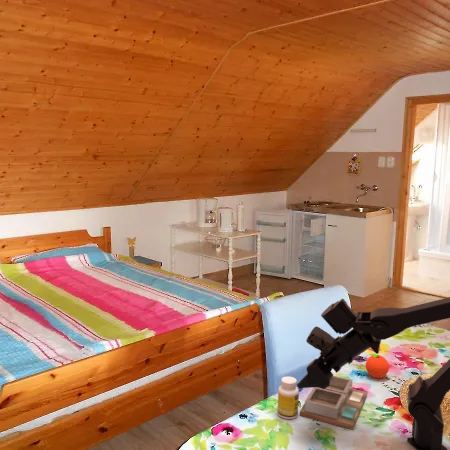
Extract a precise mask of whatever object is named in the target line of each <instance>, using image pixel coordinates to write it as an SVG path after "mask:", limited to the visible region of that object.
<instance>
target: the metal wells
mask: <svg viewBox="0 0 450 450" xmlns="http://www.w3.org/2000/svg"><path fill="white" fill-rule="evenodd" d="M329 386H332V387H337V388H341V389H344V391H340V390H336V389H331V388H325V389H321V388H320V387H312V389H311V391H310V393H309V394H308V396H307V397H306V399H304V404H305V412H308V413H312V414H316V415H320V416H324V417H328V418H332V419H336V420H337V419H338V417H339V415H340V413H341V411H342V409H343V407H344V405H345V403H346V401H347V399H348V397H349V395H350V392H351V390H352V389H353V379H350V378H345V377H341V376H337V375H333V380H332V382H331V384H330V385H329ZM315 399H319V400H323V401H327V402H331V403H336V404H337V405H336V407H334V406H330V405H326V404H322V403H318V402H314V401H315Z"/></svg>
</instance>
